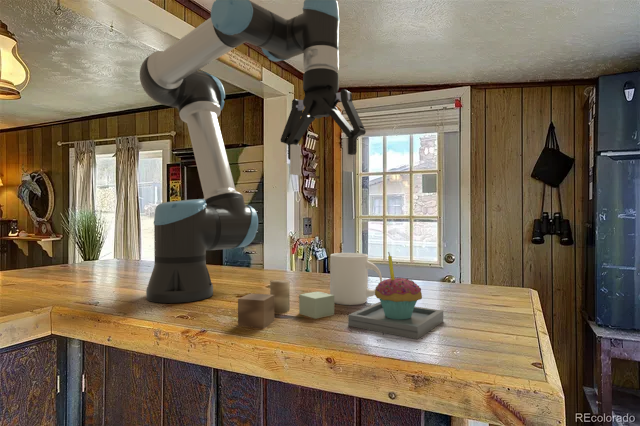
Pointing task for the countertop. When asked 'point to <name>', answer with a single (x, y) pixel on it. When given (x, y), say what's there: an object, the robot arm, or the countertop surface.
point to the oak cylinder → (280, 295)
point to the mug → (351, 278)
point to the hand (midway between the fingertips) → (320, 173)
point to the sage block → (316, 304)
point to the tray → (396, 321)
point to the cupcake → (397, 295)
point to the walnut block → (255, 310)
